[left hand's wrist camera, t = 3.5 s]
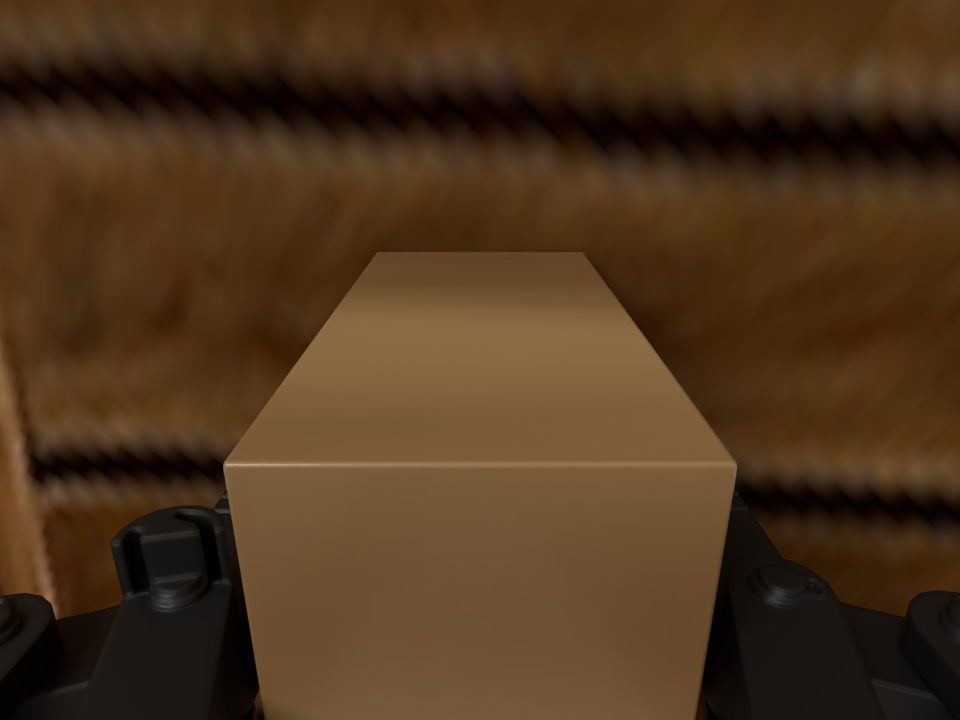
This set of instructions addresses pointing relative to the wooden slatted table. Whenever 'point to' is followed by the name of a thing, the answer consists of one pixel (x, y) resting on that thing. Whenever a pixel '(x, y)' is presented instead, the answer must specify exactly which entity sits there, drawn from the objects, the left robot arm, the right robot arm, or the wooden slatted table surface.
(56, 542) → the wooden slatted table surface
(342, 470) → the bar
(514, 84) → the wooden slatted table surface
